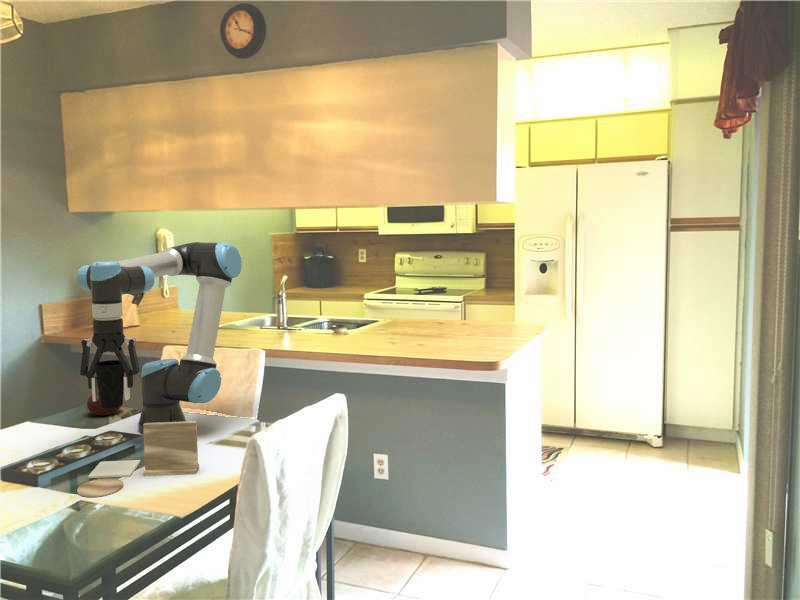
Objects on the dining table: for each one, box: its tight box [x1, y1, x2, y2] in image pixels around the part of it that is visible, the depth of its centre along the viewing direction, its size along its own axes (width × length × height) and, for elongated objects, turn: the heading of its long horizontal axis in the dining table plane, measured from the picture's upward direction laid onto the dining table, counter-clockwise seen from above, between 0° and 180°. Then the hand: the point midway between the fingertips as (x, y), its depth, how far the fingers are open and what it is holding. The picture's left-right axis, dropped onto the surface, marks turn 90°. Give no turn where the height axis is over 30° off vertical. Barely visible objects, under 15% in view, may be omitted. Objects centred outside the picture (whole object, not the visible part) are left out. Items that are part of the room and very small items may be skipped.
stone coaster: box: [87, 459, 141, 479], centre depth 184 cm, size 11×11×1 cm
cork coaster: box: [76, 477, 124, 498], centre depth 171 cm, size 11×11×1 cm
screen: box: [143, 420, 200, 477], centre depth 183 cm, size 5×14×14 cm, turn 98°
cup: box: [95, 359, 125, 408], centre depth 181 cm, size 8×8×12 cm
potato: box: [86, 391, 122, 417], centre depth 236 cm, size 12×11×8 cm
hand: (111, 399), depth 182 cm, fingers closed on cup, 8 cm apart
